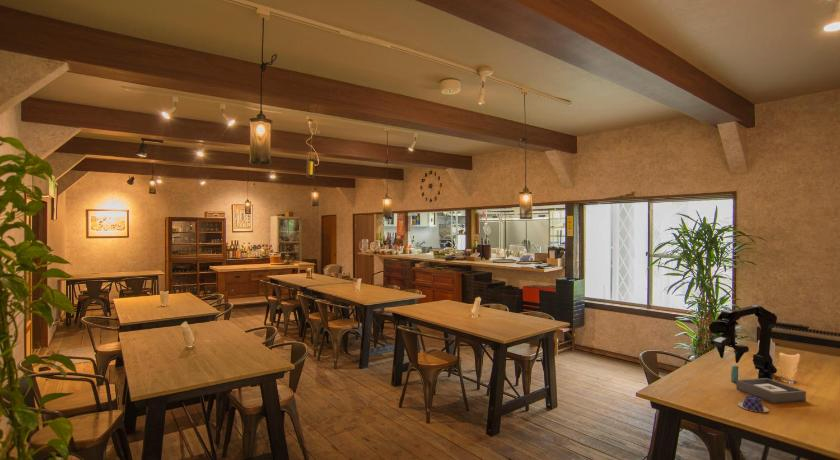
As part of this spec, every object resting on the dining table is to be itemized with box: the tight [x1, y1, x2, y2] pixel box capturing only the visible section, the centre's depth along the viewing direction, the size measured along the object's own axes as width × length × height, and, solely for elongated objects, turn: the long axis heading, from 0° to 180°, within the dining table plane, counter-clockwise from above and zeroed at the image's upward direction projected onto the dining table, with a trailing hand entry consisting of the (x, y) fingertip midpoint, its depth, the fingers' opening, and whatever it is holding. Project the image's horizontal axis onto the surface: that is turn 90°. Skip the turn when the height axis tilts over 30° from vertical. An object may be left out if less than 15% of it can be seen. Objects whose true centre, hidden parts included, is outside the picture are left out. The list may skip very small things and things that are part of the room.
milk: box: [756, 337, 776, 375], centre depth 261 cm, size 6×6×22 cm
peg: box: [730, 364, 739, 384], centre depth 245 cm, size 3×3×9 cm
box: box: [735, 378, 807, 405], centre depth 226 cm, size 20×20×5 cm
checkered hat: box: [737, 395, 770, 413], centre depth 209 cm, size 12×12×5 cm
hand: (729, 360), depth 242 cm, fingers open, 9 cm apart
